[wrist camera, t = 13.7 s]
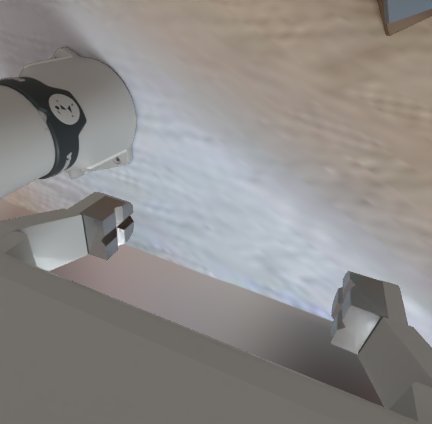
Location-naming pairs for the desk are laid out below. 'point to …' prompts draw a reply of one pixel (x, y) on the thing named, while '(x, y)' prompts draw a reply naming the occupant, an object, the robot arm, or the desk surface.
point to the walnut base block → (402, 20)
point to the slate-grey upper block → (404, 8)
